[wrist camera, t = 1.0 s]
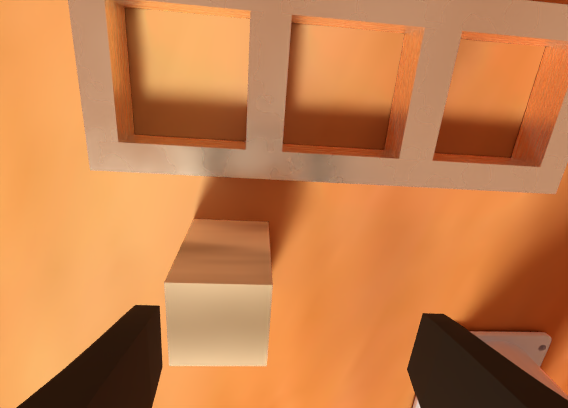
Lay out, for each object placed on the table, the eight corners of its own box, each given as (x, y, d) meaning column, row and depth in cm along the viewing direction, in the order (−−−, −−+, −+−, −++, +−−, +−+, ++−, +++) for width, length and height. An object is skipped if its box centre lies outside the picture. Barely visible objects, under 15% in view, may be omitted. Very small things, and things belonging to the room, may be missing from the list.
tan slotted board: (525, 182, 19) (555, 194, 17) (109, 159, 17) (90, 170, 15) (580, 18, 16) (624, 10, 14) (88, -33, 14) (61, -50, 12)
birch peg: (264, 283, 20) (266, 365, 14) (195, 282, 19) (169, 365, 14) (268, 221, 18) (272, 285, 13) (193, 218, 18) (164, 282, 12)
